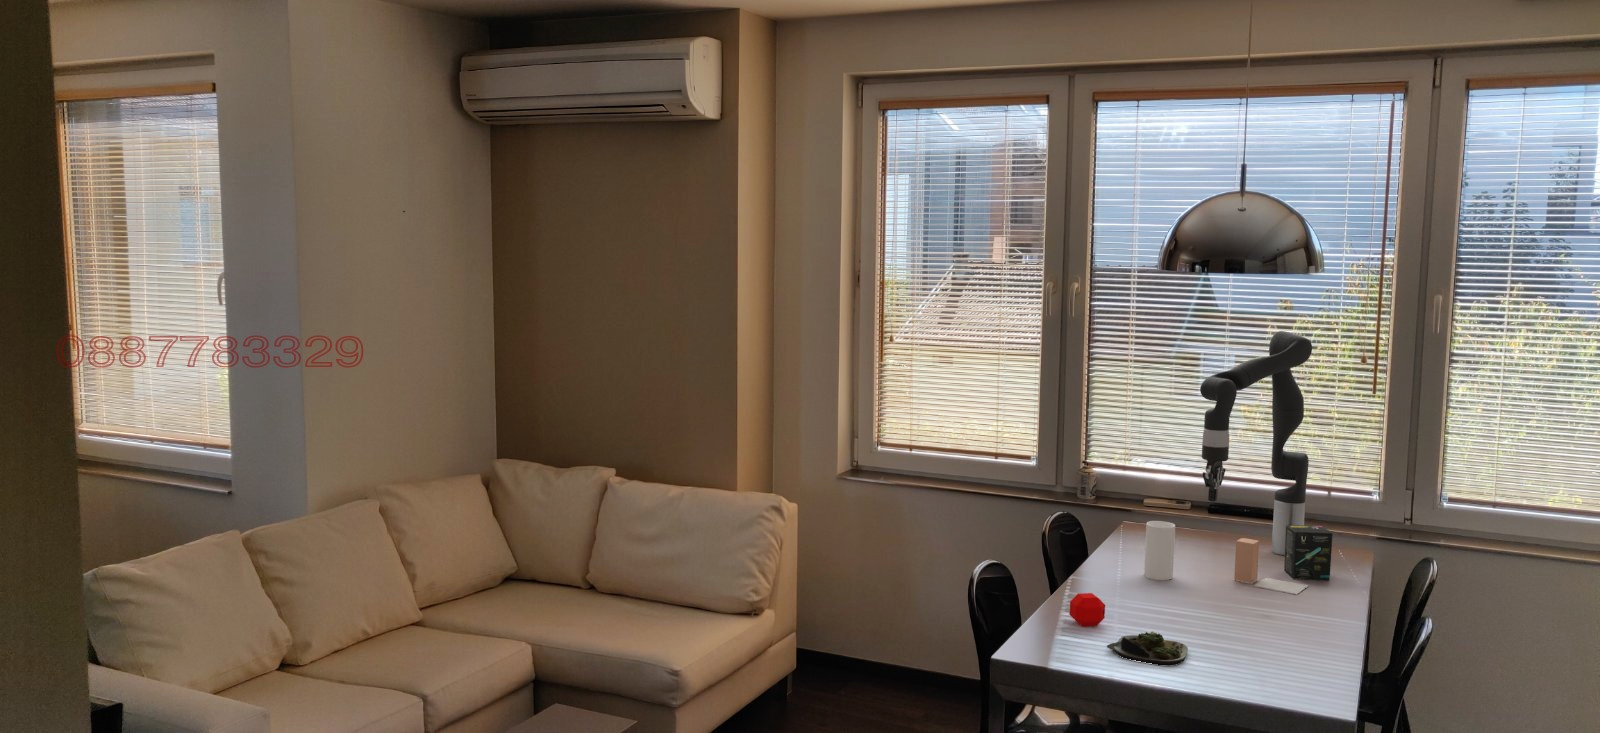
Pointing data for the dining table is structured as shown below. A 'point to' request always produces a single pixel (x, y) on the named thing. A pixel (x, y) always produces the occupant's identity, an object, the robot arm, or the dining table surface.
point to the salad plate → (1150, 649)
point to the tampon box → (1308, 552)
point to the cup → (1159, 550)
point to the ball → (1087, 609)
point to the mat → (1281, 586)
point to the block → (1246, 560)
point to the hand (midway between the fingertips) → (1212, 500)
